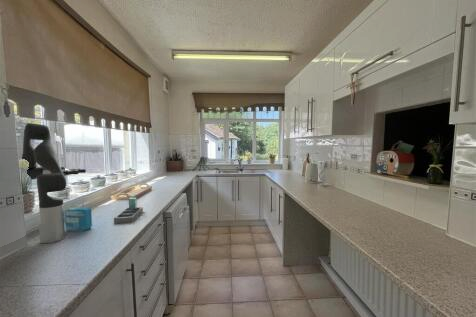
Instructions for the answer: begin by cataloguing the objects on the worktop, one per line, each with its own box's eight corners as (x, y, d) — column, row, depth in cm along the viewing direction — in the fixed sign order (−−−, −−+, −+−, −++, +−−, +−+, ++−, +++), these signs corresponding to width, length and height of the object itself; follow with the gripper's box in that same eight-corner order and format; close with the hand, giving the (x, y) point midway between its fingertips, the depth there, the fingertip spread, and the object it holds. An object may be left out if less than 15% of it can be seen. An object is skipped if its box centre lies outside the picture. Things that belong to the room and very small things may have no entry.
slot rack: (132, 222, 136) (132, 216, 135) (113, 223, 134) (113, 217, 134) (142, 211, 157) (142, 206, 157) (127, 212, 156) (126, 207, 156)
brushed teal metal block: (135, 213, 151) (134, 198, 151) (129, 213, 151) (128, 198, 150) (136, 211, 155) (136, 197, 154) (130, 211, 154) (130, 197, 154)
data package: (65, 230, 123) (64, 209, 122) (71, 227, 128) (70, 207, 127) (86, 230, 123) (85, 209, 122) (92, 227, 127) (91, 207, 127)
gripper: (46, 167, 135) (75, 167, 138) (61, 165, 150) (87, 165, 152) (46, 179, 136) (75, 179, 138) (62, 176, 150) (88, 175, 152)
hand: (81, 171), depth 145 cm, fingers open, 8 cm apart
